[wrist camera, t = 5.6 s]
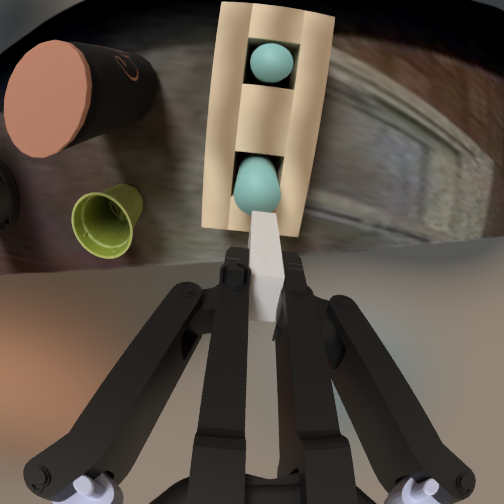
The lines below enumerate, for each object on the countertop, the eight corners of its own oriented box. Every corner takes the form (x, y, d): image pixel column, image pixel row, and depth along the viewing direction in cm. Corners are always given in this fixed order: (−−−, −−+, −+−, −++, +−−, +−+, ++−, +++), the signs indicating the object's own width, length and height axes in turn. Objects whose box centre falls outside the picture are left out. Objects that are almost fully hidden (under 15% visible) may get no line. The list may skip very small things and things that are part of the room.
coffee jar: (175, 74, 30) (110, 64, 15) (133, 139, 34) (57, 180, 19) (117, 42, 27) (32, 27, 11) (81, 105, 31) (-8, 130, 16)
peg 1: (249, 82, 29) (248, 78, 23) (253, 52, 27) (252, 41, 21) (282, 86, 30) (290, 84, 23) (286, 57, 28) (295, 46, 21)
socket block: (212, 198, 39) (201, 227, 32) (229, 22, 26) (221, 1, 18) (289, 206, 40) (298, 237, 32) (316, 33, 27) (334, 17, 19)
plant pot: (90, 190, 38) (60, 213, 31) (133, 161, 36) (106, 179, 29) (119, 237, 43) (97, 267, 35) (164, 214, 41) (145, 243, 33)
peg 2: (237, 185, 32) (231, 213, 25) (240, 151, 29) (236, 170, 23) (272, 189, 32) (277, 218, 25) (277, 155, 30) (284, 175, 23)
